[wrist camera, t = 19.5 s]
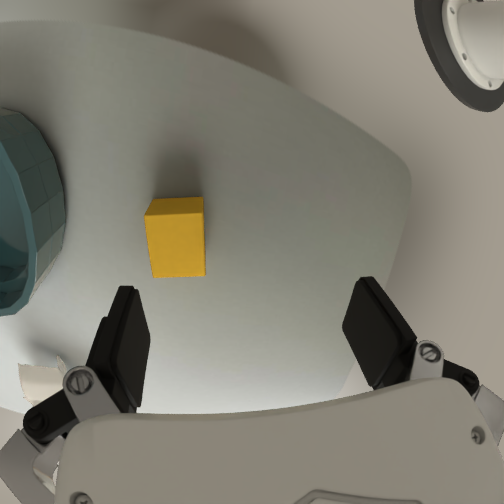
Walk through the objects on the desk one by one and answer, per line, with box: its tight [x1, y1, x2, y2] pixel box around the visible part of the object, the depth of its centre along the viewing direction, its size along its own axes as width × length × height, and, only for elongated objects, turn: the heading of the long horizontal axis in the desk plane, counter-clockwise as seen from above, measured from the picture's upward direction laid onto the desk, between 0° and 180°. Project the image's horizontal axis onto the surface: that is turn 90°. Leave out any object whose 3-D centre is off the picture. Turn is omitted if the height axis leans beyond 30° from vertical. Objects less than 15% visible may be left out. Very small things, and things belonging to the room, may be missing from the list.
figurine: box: [18, 355, 67, 461], centre depth 27 cm, size 15×12×14 cm
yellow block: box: [144, 197, 206, 278], centre depth 20 cm, size 4×5×4 cm
